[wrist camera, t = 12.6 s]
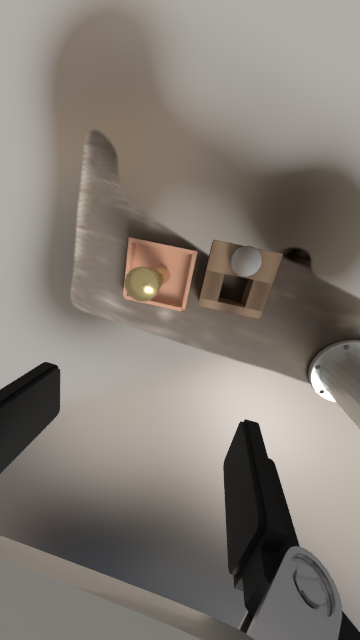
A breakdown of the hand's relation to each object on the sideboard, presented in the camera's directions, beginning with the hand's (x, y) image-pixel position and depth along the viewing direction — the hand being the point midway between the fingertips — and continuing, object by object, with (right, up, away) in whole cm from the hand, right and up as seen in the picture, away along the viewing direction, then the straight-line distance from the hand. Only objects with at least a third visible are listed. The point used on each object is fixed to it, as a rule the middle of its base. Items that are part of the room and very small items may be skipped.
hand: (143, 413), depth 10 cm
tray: (-2, +13, +25) cm, 28 cm away
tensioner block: (+11, +12, +24) cm, 29 cm away
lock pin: (-1, +12, +25) cm, 28 cm away
